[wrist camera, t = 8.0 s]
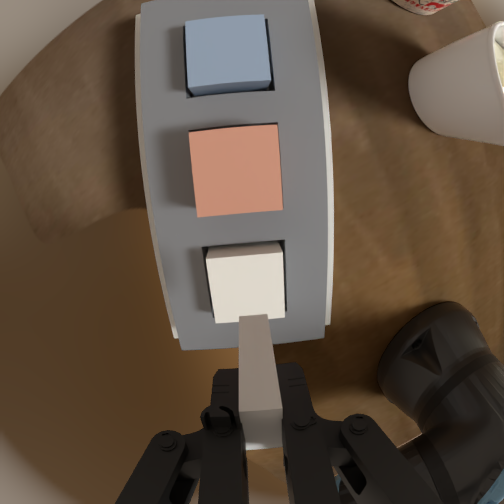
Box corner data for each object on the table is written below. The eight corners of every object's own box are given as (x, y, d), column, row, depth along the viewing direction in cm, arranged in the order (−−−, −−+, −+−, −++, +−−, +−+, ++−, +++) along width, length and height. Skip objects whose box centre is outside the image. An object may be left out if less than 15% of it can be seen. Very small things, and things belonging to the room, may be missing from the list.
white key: (279, 297, 23) (284, 317, 20) (218, 303, 23) (215, 323, 20) (276, 238, 21) (282, 252, 19) (209, 244, 21) (205, 258, 19)
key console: (327, 320, 27) (339, 344, 23) (175, 333, 27) (167, 359, 23) (311, 3, 17) (323, -18, 13) (138, 18, 17) (123, 0, 13)
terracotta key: (276, 201, 19) (282, 209, 17) (203, 207, 19) (197, 217, 17) (271, 128, 18) (277, 124, 15) (196, 135, 18) (188, 132, 15)
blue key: (266, 90, 18) (271, 80, 15) (195, 96, 18) (188, 87, 15) (260, 31, 16) (264, 14, 13) (191, 37, 16) (185, 21, 13)
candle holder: (473, 149, 22) (560, 164, 10) (404, 138, 21) (504, 143, 10) (465, 64, 18) (545, 50, 7) (393, 41, 18) (475, -2, 7)
